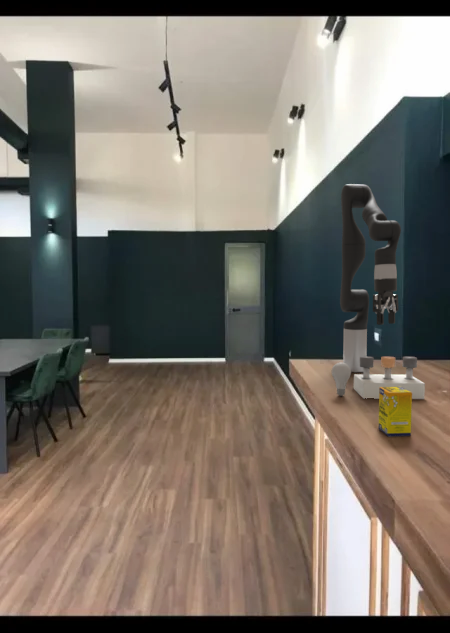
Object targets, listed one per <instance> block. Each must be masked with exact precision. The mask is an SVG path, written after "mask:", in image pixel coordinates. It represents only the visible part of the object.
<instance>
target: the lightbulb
mask: <svg viewBox="0 0 450 633" xmlns="http://www.w3.org/2000/svg"><path fill="white" fill-rule="evenodd" d="M351 375H352V372H351V369H350V367H349V366H348V365H347V364H345V363H343V361H342V362H340V361H339V362H336V363H335V364H334V365H333V366H332V368H331V376H332V378H333V380H334V382H335V389H336V394H337V396H339V397H343V396H344V395H346V388H347V383H348V380H350V377H351Z"/></svg>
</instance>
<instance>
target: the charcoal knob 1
mask: <svg viewBox="0 0 450 633" xmlns="http://www.w3.org/2000/svg"><path fill="white" fill-rule="evenodd" d="M374 362H375V358H374V356H367V355H366V356H362V357H360V367H363V372H362V374H363V379H369V375H370V370H371V368H374Z"/></svg>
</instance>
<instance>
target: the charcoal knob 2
mask: <svg viewBox="0 0 450 633" xmlns="http://www.w3.org/2000/svg"><path fill="white" fill-rule="evenodd" d="M417 367H418V358H417V357H415V356H403V357H402V368H406V372H405V375H406V380H413V377H414V376H413V375H414V373H413V372H414V370H413V369H416V368H417Z"/></svg>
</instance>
